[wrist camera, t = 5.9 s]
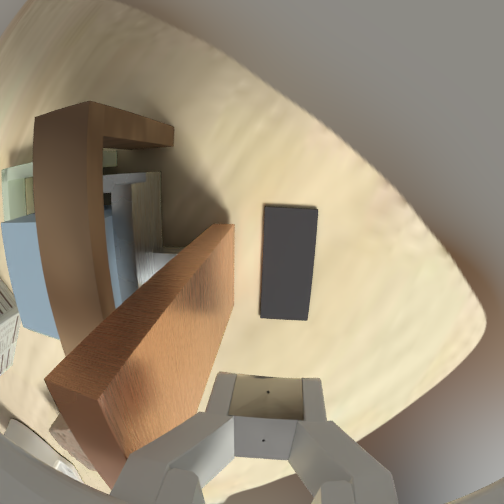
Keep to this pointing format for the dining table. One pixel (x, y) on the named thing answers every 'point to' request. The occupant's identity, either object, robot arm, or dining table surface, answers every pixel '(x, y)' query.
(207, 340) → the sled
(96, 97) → the dining table surface
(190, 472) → the robot arm
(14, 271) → the block
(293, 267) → the dark grey flat block
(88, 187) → the tunnel
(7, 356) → the supplement box
